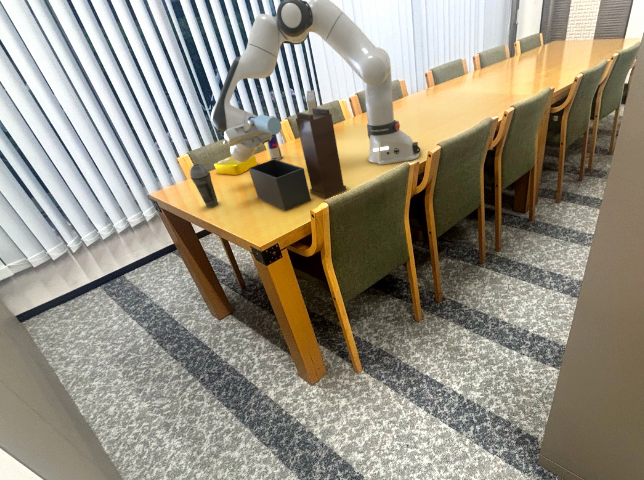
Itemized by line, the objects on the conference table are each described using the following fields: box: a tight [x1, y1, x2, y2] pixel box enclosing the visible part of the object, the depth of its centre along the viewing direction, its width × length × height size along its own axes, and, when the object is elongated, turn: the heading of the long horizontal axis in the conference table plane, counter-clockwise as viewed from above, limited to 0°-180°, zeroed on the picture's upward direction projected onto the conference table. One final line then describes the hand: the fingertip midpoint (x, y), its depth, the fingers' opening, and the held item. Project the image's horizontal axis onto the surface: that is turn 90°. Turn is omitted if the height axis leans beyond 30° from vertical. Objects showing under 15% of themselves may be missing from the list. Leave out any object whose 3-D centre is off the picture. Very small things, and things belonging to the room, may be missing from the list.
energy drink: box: [266, 134, 283, 161], centre depth 189 cm, size 5×5×12 cm
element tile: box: [213, 154, 258, 176], centre depth 187 cm, size 15×15×5 cm
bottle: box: [248, 114, 282, 135], centre depth 133 cm, size 17×5×5 cm, turn 40°
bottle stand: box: [295, 107, 347, 200], centre depth 141 cm, size 10×10×28 cm
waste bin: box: [248, 159, 312, 212], centre depth 147 cm, size 21×11×12 cm, turn 40°
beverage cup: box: [189, 151, 219, 209], centre depth 149 cm, size 7×7×20 cm
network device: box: [305, 89, 318, 114], centre depth 210 cm, size 26×9×20 cm, turn 6°
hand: (256, 120), depth 135 cm, fingers closed on bottle, 2 cm apart
